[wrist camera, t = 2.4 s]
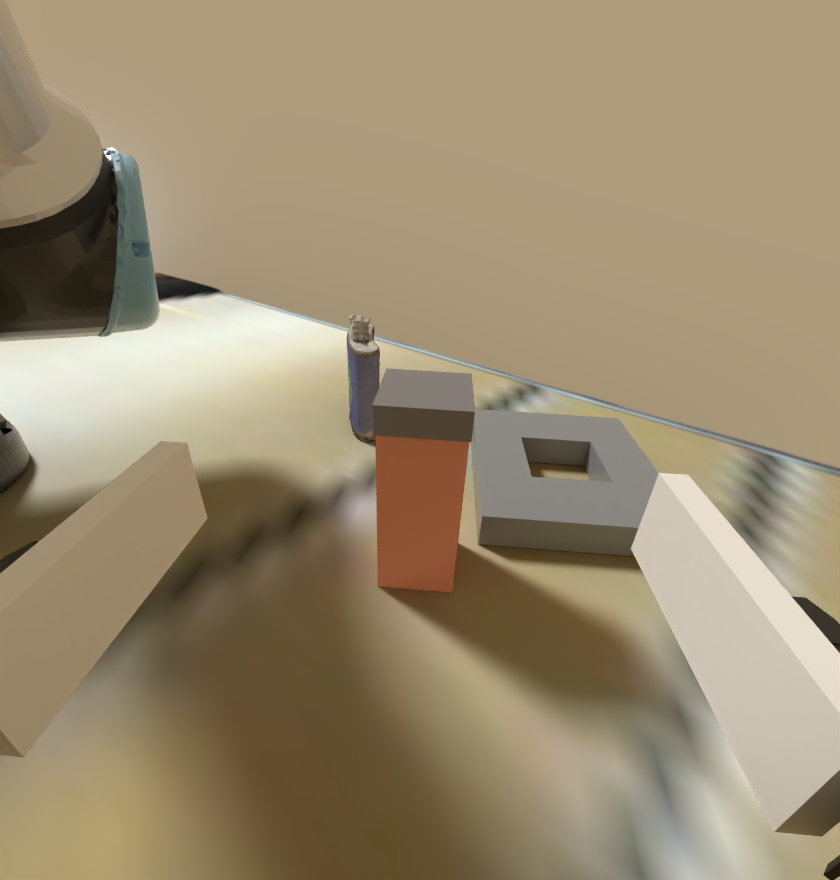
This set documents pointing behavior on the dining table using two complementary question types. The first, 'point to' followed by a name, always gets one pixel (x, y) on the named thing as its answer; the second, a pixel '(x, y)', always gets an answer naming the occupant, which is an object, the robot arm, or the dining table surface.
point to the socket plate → (558, 482)
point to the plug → (421, 475)
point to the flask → (362, 376)
